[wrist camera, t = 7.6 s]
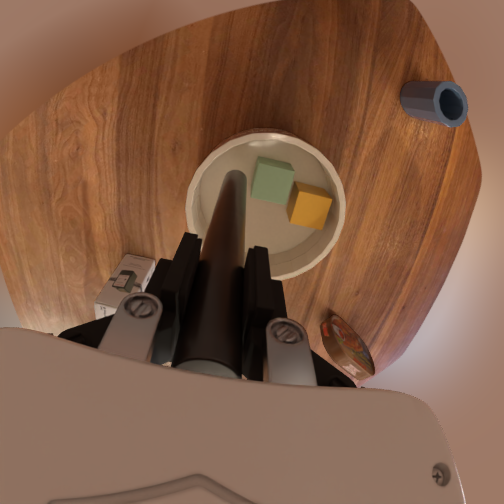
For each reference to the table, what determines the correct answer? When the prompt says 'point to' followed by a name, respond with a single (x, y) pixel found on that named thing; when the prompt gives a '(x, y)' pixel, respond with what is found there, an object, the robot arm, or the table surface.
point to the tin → (346, 348)
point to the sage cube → (272, 180)
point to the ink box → (124, 283)
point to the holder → (435, 102)
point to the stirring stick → (217, 290)
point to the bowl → (264, 212)
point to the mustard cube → (308, 205)
